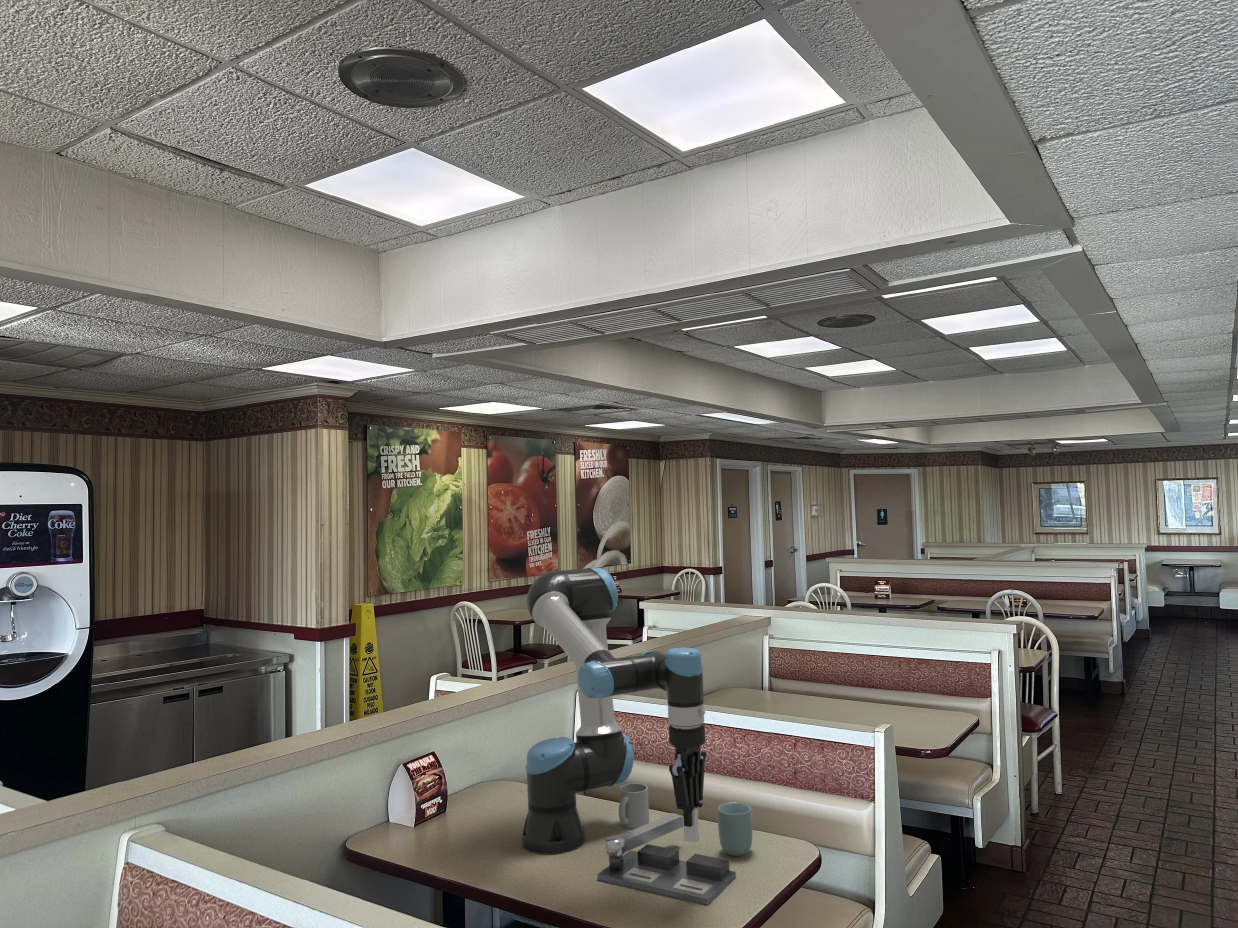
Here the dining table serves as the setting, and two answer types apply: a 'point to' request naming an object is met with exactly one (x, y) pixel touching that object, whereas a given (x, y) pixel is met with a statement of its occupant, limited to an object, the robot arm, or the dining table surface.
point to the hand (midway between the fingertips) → (691, 840)
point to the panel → (670, 873)
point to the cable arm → (643, 834)
